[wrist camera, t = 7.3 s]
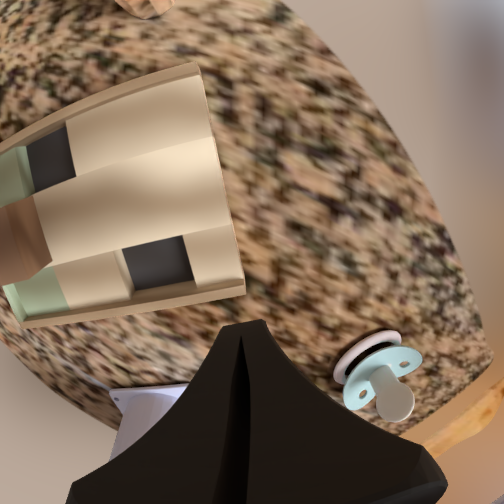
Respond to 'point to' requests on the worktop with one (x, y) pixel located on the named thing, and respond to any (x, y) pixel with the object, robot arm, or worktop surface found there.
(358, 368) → the pacifier
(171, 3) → the milkshake
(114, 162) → the tray
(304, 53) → the worktop surface
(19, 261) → the walnut block
